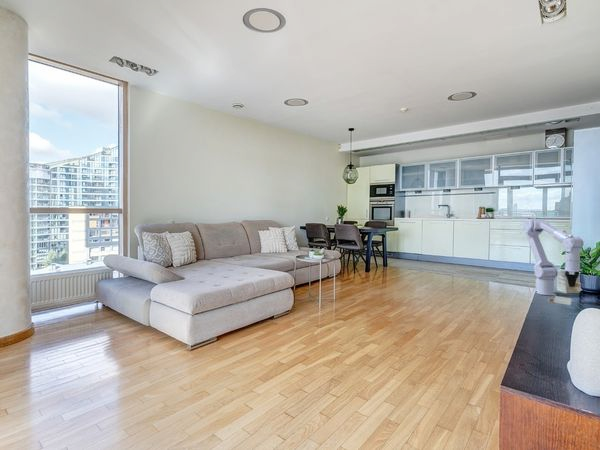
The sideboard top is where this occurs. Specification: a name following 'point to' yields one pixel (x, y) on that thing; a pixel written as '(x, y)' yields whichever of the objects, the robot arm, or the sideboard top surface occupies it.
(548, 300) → the trap plate
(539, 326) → the sideboard top surface
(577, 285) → the maple block
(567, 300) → the acrylic channel
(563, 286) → the supplement box
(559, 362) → the sideboard top surface
